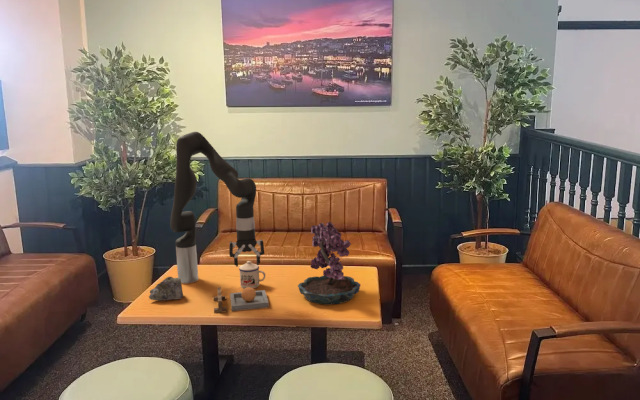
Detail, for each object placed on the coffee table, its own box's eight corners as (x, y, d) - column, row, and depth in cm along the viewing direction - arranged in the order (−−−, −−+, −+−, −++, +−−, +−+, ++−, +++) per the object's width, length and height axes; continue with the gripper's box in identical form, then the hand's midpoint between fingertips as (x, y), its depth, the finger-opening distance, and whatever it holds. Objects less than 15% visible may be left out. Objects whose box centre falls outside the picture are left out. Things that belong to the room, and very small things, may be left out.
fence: (213, 298, 235) (213, 287, 234) (225, 297, 235) (224, 286, 234) (214, 313, 219) (213, 301, 218) (226, 311, 220) (226, 300, 219)
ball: (239, 301, 230) (238, 287, 229) (251, 297, 234) (250, 284, 232) (246, 305, 225) (246, 291, 224) (258, 301, 229) (258, 287, 228)
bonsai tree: (362, 309, 220) (361, 230, 213) (295, 309, 221) (292, 231, 214) (359, 279, 254) (358, 211, 248) (301, 280, 255) (298, 212, 249)
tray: (230, 297, 235) (230, 293, 235) (265, 294, 238) (264, 289, 238) (231, 311, 221) (231, 306, 221) (268, 307, 224) (268, 302, 223)
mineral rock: (148, 302, 232) (146, 280, 230) (159, 293, 243) (157, 272, 241) (176, 304, 230) (175, 281, 228) (187, 294, 240) (185, 273, 238)
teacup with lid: (237, 288, 246) (235, 264, 244) (243, 282, 255) (242, 258, 253) (263, 289, 244) (261, 265, 242) (268, 283, 253) (267, 258, 250)
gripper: (228, 231, 218) (230, 269, 222) (263, 228, 221) (265, 266, 224) (227, 226, 226) (229, 264, 229) (262, 224, 228) (263, 261, 232)
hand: (247, 265), depth 227 cm, fingers open, 8 cm apart
